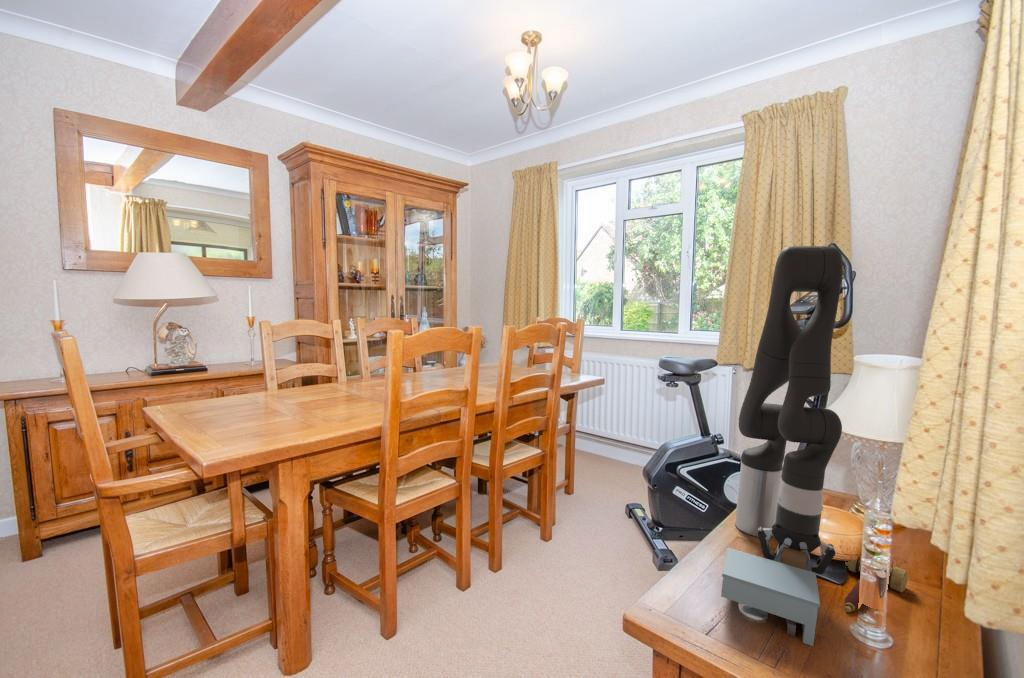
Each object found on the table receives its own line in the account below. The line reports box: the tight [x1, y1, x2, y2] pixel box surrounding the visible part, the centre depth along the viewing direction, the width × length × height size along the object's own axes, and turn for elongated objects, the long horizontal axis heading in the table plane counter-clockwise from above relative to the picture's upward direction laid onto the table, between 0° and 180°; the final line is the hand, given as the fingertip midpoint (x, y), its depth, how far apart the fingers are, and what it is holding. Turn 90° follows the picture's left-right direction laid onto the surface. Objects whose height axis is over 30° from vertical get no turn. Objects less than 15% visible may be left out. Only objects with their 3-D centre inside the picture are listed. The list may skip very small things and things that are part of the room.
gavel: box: [844, 557, 909, 613], centre depth 95 cm, size 21×5×10 cm
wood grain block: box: [781, 547, 807, 637], centre depth 89 cm, size 16×4×10 cm, turn 150°
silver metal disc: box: [737, 602, 769, 624], centre depth 88 cm, size 5×5×1 cm
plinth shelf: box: [720, 547, 821, 647], centre depth 88 cm, size 10×15×8 cm
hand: (789, 583), depth 95 cm, fingers closed on wood grain block, 4 cm apart
